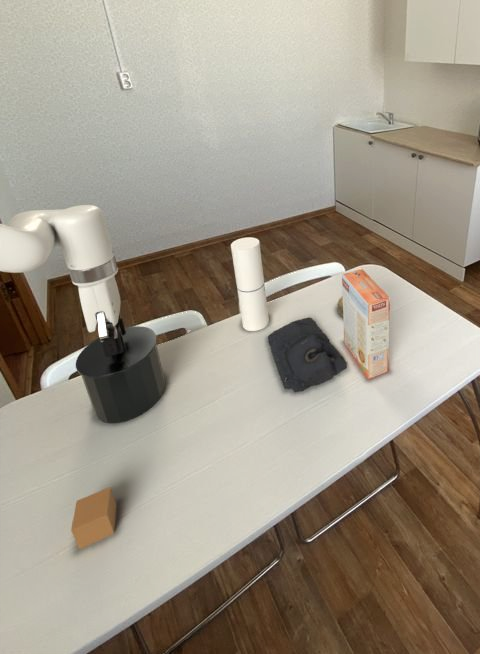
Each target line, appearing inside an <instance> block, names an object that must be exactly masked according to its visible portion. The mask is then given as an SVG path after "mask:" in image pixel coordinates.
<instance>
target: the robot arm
mask: <svg viewBox="0 0 480 654" xmlns="http://www.w3.org/2000/svg"><path fill="white" fill-rule="evenodd" d="M111 241H112V240H111V237H110V234H109V229H108V226H107V221H106V218H105V214H104V212H103V210H102V209H101V208H100V207H99V206H97V205H92V204H81V205H74V206H70V207H67V208H63V209H34V210H26V211H21V212H19V213H17V214H15V215H13V216H12V217H11V218H10V219H9V220H8V221H7V223H6V224H4V223H0V272H3V273H11V274H12V273H13V274H17V273H18V274H19V273H27V272H31V271H33V270H36V269H38V268H39V267H41V266H42V265H43V264H44V263H46V261H47V260H48V259H49V257H50V255H51V253H52V251H53V249H54V248H55V247H60V248H61V252H62V256H63V258H64V261H65V264H66V267H67V270H68V274H69V277H70V280H71V282H72V284H73V285H75V286H77V287H78V294H79V295H78V296H79V301H80V306H81V310H82V313H83V317H84V322H85V325H86V330H87V331H88V333H93V332H96V328H97V330H98V336H99V337H98V338H100V340H101V344H102V347H103V350H104V353H105V356H106V357H109V356H112V355H116V354H119V353H122V352H124V348H123V344H122V341H121V337H120V335H118V334H117V329H116V324H119V326H120V329H121V333H122V336H123V335H125V334H126V330H125V328H126V327H125V324H124V320H123V317H122V315H121V296H120V292H119V287H118V284H117V281H116V277H115V276H116V275H117V274H118V272H119V267H118V263H117V260H116V255H115V252H114V248H113V244H112V242H111ZM111 327H112V331H113V332H109V331H108V328H111Z"/></svg>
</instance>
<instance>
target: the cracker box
mask: <svg viewBox="0 0 480 654" xmlns="http://www.w3.org/2000/svg"><path fill="white" fill-rule="evenodd" d="M341 280H342V281H341V283H342V287H341V288H342V296H343V317H342V319H343V343H344V345H345V347H346V348H347V350H348V352H349V353H350V354H351V356H352V358H353V359H354V361H355V362H356V364H357V365H358V367H359V368H360V370H361V371H362V373H363V375H364V377H365V379H367V380H371V379H373V378H376V377H379V376H381V375H384V374H386V373H389V361H390V360H389V358H390V357H389V356H390V355H389V353H390V316H391V315H390V314H391V313H390V310H391V308H390V307H391V298H390V296H389V295H388V294H387V293H386V292H385V291H384V290H383V289H382V288H381V286H379V285H378V284H377V282H375V281H374V280H373V279H372V278H371V276H369V275H368V274H367V272H366V271H365V270H364V268H363V269H357V270H353V271H349V272H345V273H342V274H341Z"/></svg>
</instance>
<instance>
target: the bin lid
mask: <svg viewBox="0 0 480 654" xmlns="http://www.w3.org/2000/svg"><path fill="white" fill-rule="evenodd" d="M116 329H117V334H118V335H120V337H121V341H122V344H123V348H124V352H122V353H119V354H116V355H112V356H109V357H106V356H105V353H104V350H103V347H102V344H101V340H100V338H99V337H98V338H96V339H94V340H93V341H92V342H90V343H89V344H88V345H87V346H86V347H84V348H83V349H82V350H81V352H79V354H78V356H77V357H76V360H75V369H76V371H77V373H78V374H79V375H80V376H81V377H82V376H84V377H86V378H93V379H99V378H106V377H111V376H114V375H117V374H120V373H123V372H125V371H127V370H129V369H131V368H133V367H135V366H136V365H138V364H139V363H141V362H142V361H143V360H145V359H146V358H147V357H148V356H149V355H150V354H151V353H152V351H153V350H154V348H155V346H156V345H157V343H158V337H157V334H156V332H155V331H154V330H153V329H151V328H149V327H147V326H139V325H138V326H126V327H125V330H126V334H125V335H123V336H122V333H121V329H120V326H119V324H116ZM108 331H109V332H113V331H112V327H111V328H108Z"/></svg>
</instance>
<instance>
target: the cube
mask: <svg viewBox="0 0 480 654" xmlns="http://www.w3.org/2000/svg"><path fill="white" fill-rule="evenodd" d="M117 506H118V505H117V502H116V499H115V497H114V493H113V490H112V488H111V486H109V487H107V488H104V489H101V490H100V491H97V492H94V493H92V494H90V495H87V496H84V497H82V498H80V499H78V500H76V502H75V507H74V513H73V518H72V519H73V520H72V522H71V528H70V532H71V534H72V536H73V539H74V541H75V543H76V545H77V547H78V549H79V550H81V549H83V548H86V547H88V546H90V545H92V544H94V543H96V542H99V541H101V540H103V539H105V538H108V537H110V536H112V535H114V534H115V528H116V518H117V508H118V507H117Z"/></svg>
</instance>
